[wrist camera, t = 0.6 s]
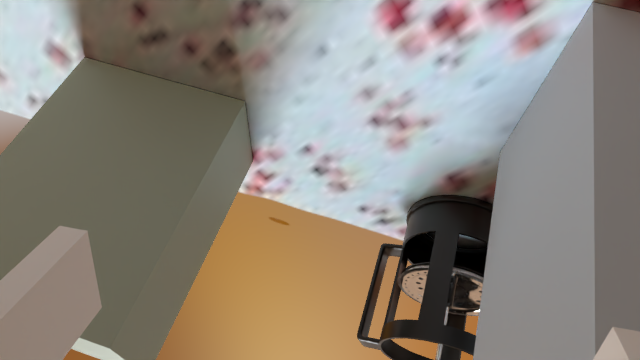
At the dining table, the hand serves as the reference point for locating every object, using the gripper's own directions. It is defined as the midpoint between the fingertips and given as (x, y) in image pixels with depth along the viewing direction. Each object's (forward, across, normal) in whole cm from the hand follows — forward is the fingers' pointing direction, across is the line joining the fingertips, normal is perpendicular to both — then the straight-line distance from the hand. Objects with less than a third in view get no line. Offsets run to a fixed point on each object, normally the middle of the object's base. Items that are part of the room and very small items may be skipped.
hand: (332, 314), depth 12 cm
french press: (+27, +9, -14) cm, 32 cm away
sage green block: (+27, -16, -8) cm, 33 cm away
